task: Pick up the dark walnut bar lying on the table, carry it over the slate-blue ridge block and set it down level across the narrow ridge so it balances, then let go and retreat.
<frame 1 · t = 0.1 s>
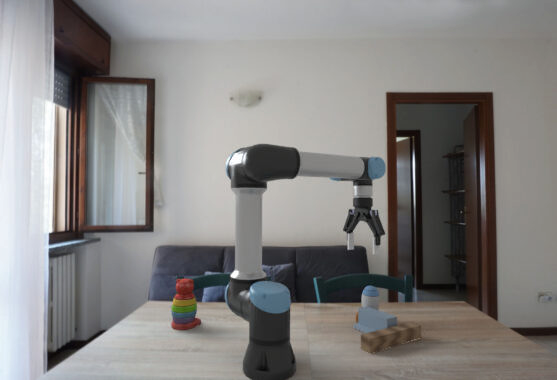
hand: (362, 251, 139), 28 cm above the table, fingers open, 13 cm apart
stacking bear: (184, 326, 136), on the table
slate ridge: (376, 331, 131), on the table
walnut bar: (392, 344, 119), on the table
toy rocket: (366, 321, 142), on the table, touching slate ridge
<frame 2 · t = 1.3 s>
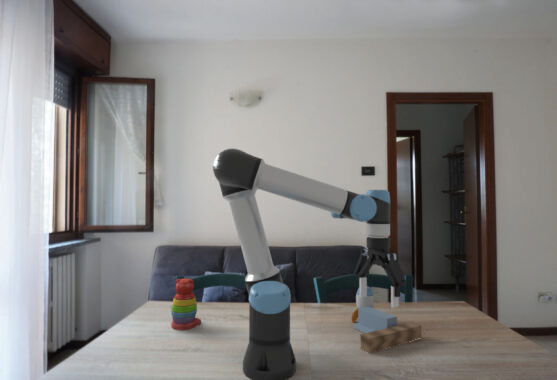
hand: (378, 301, 117), 15 cm above the table, fingers open, 13 cm apart
toy rocket: (361, 322, 142), on the table, touching slate ridge
everything else where it was.
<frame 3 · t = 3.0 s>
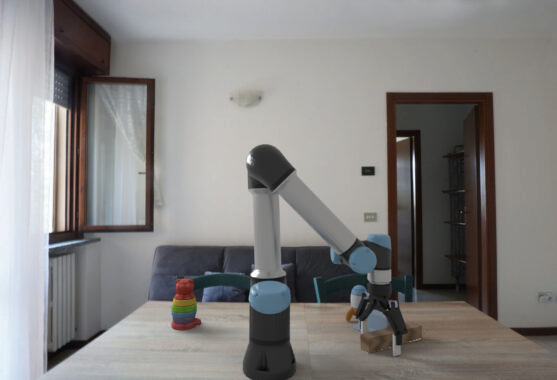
hand: (380, 347, 116), 0 cm above the table, fingers open, 13 cm apart
toy rocket: (356, 321, 142), on the table, touching slate ridge
everything else where it was.
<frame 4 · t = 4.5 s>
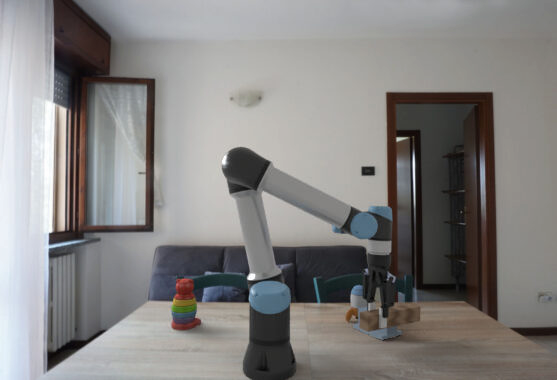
hand: (377, 324, 117), 7 cm above the table, fingers closed on walnut bar, 4 cm apart
walnut bar: (390, 324, 120), point 7 cm above the table, touching gripper
everything else where it was.
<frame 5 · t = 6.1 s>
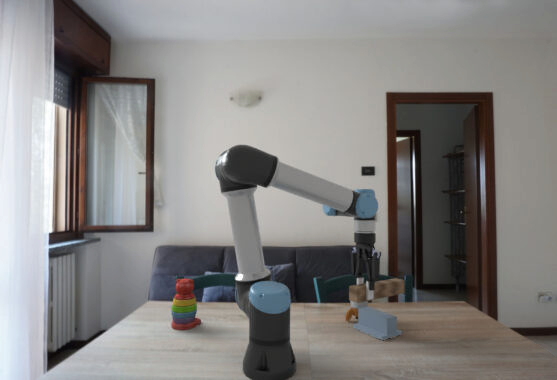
hand: (365, 297, 128), 13 cm above the table, fingers closed on walnut bar, 4 cm apart
walnut bar: (377, 296, 131), point 13 cm above the table, touching gripper
everything else where it was.
when the fingers open (9 cm above the table, at t = 7.6 s): walnut bar drops 1 cm, resting on slate ridge.
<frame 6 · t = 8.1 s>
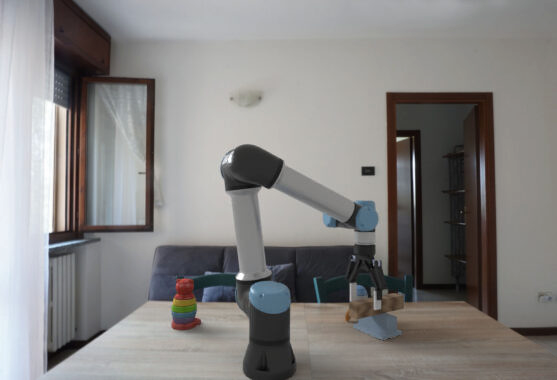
hand: (364, 304, 128), 11 cm above the table, fingers open, 11 cm apart
walnut bar: (377, 312, 131), point 7 cm above the table, touching slate ridge
everything else where it was.
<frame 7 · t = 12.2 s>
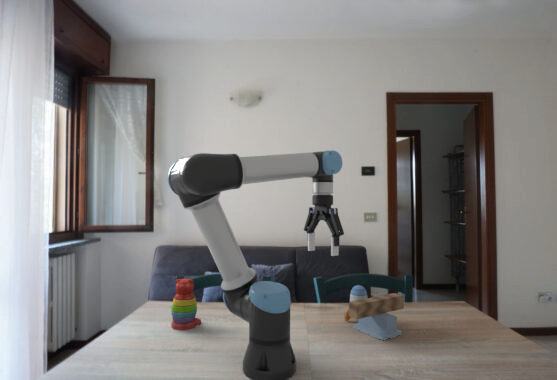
hand: (322, 253, 130), 29 cm above the table, fingers open, 13 cm apart
nothing on the table moved.
at the end: walnut bar inside the target area on the slate ridge (0.2 cm from its centre), point 7.0 cm above the slate ridge's base; walnut bar tilted 0°; walnut bar touching slate ridge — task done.
